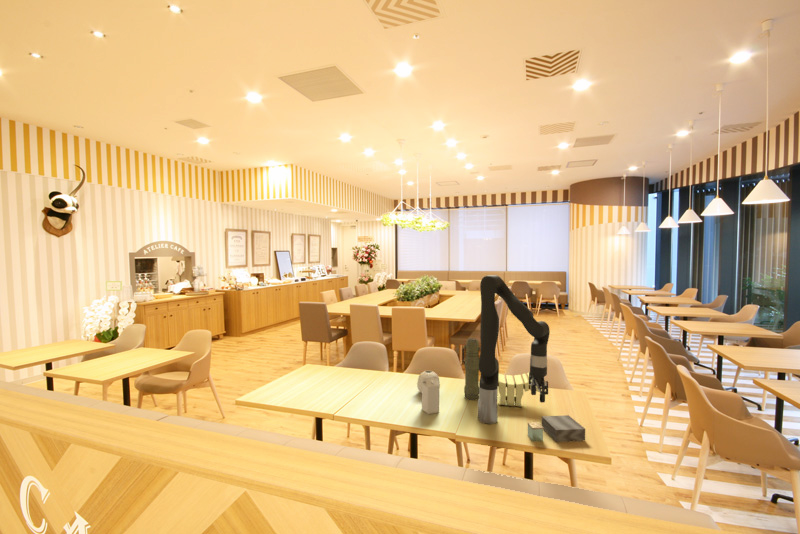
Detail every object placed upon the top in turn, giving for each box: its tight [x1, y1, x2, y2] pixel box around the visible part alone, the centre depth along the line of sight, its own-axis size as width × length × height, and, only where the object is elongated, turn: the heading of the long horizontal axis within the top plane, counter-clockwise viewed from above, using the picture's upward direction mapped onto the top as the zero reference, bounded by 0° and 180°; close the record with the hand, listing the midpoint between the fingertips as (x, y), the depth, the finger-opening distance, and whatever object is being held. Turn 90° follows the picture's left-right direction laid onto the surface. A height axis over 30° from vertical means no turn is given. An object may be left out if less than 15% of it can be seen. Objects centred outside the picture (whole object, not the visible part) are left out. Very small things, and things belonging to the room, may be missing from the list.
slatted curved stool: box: [497, 371, 540, 408], centre depth 211 cm, size 30×16×18 cm, turn 78°
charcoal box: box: [541, 414, 586, 443], centre depth 174 cm, size 14×14×6 cm
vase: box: [416, 369, 441, 394], centre depth 224 cm, size 14×14×13 cm
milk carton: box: [421, 376, 440, 415], centre depth 199 cm, size 7×7×19 cm
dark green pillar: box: [461, 338, 481, 401], centre depth 218 cm, size 9×12×35 cm
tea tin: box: [527, 421, 544, 442], centre depth 170 cm, size 5×5×6 cm
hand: (537, 398), depth 171 cm, fingers open, 8 cm apart
